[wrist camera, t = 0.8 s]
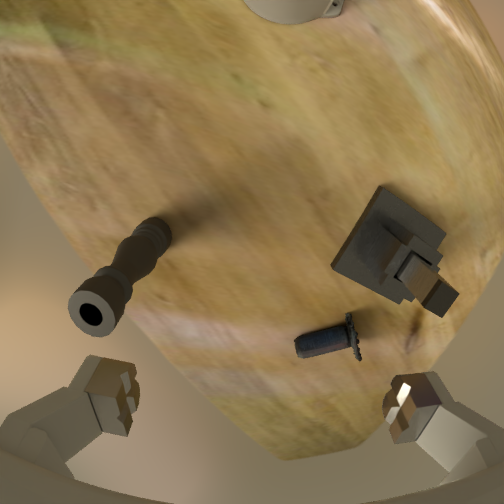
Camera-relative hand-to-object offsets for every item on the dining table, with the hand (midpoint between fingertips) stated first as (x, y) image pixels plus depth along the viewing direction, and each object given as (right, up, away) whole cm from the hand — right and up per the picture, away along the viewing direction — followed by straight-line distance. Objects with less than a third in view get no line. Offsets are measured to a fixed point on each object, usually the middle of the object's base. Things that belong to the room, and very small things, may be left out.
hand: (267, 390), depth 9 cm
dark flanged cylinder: (+14, -12, +51) cm, 54 cm away
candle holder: (-17, +7, +44) cm, 47 cm away
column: (+24, +4, +42) cm, 49 cm away
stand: (+24, +5, +44) cm, 51 cm away
